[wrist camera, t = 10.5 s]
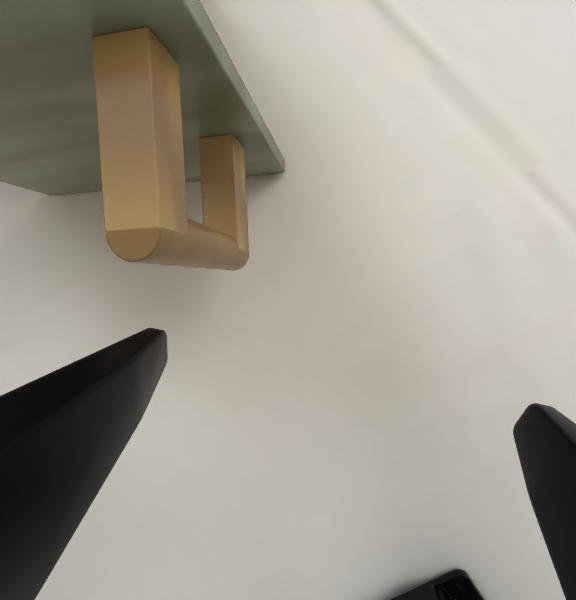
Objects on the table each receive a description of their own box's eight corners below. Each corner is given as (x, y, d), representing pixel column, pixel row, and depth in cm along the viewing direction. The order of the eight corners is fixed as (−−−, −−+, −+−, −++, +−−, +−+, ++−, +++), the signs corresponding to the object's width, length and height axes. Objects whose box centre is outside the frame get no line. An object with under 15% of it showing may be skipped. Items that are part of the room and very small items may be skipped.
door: (289, 270, 21) (177, 253, 7) (57, 282, 23) (-337, 285, 10) (284, 158, 20) (157, -82, 7) (49, 183, 23) (-368, 48, 10)
